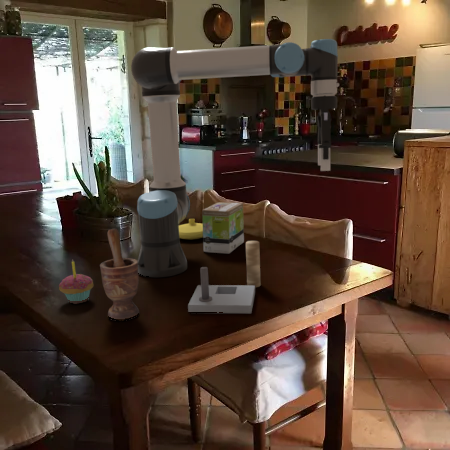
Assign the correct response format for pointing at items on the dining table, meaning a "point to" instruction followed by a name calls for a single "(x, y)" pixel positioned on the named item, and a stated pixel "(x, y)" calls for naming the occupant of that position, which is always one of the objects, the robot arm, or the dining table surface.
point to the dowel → (253, 263)
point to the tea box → (223, 227)
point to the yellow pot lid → (191, 230)
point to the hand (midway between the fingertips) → (323, 167)
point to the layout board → (221, 297)
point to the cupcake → (76, 286)
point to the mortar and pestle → (120, 280)
